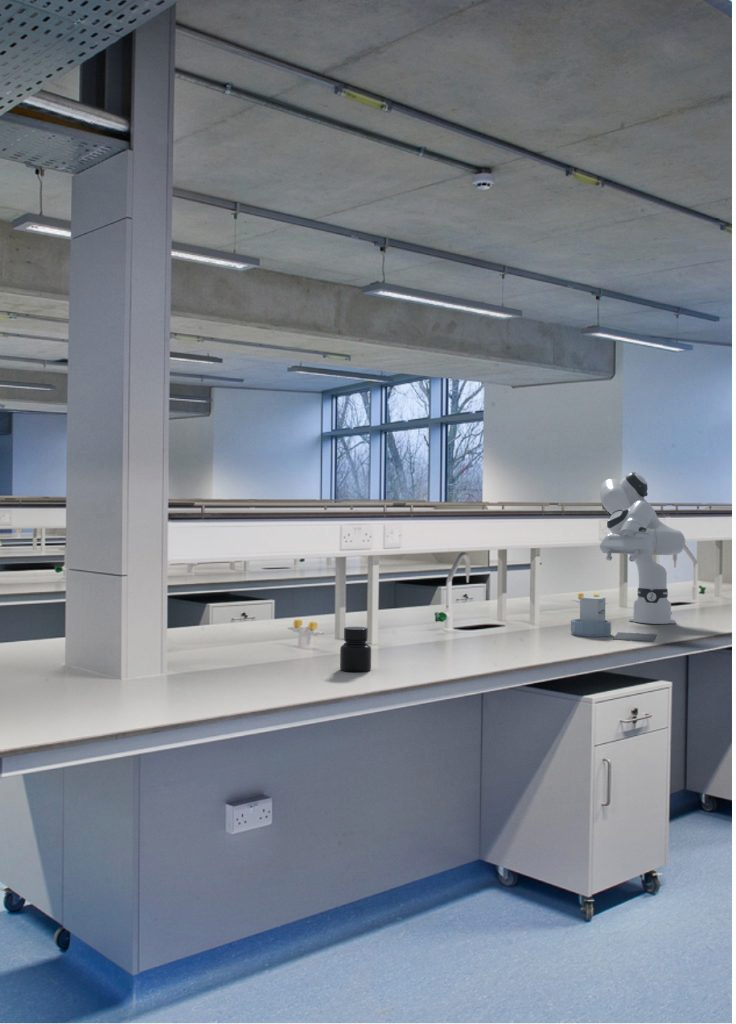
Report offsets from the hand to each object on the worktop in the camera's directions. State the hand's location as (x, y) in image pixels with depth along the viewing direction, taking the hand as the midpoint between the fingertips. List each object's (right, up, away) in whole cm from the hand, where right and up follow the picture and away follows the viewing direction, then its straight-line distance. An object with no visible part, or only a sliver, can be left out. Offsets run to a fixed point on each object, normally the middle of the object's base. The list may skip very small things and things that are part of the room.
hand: (619, 559), depth 360 cm
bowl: (-13, -27, -10) cm, 32 cm away
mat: (+1, -27, -17) cm, 32 cm away
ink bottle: (-100, -27, -92) cm, 139 cm away
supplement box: (-13, -26, -9) cm, 31 cm away
